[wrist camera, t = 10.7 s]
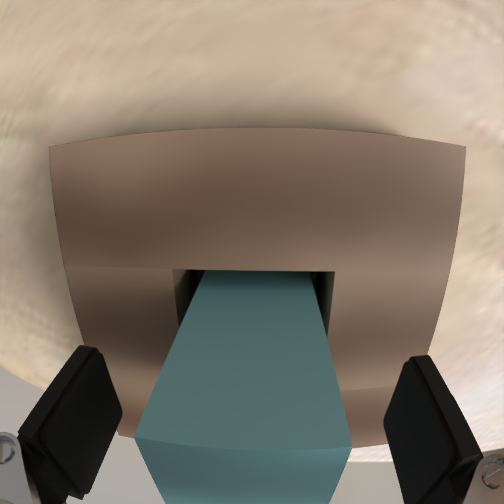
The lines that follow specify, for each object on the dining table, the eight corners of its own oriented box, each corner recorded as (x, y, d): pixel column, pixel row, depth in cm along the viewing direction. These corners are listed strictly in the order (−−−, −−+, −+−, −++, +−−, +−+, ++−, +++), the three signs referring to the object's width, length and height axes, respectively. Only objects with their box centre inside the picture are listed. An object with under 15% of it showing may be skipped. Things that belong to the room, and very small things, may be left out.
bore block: (104, 140, 15) (49, 146, 10) (413, 141, 14) (465, 146, 10) (142, 383, 21) (118, 435, 16) (372, 389, 20) (390, 443, 15)
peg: (213, 253, 16) (133, 436, 6) (304, 254, 16) (352, 446, 5) (217, 329, 17) (172, 515, 7) (298, 330, 17) (320, 522, 7)
